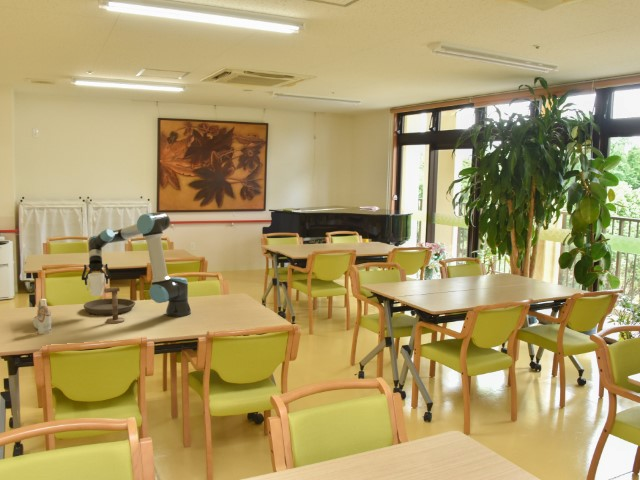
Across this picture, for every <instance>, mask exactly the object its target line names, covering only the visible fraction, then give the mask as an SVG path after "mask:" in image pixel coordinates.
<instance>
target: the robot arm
mask: <svg viewBox="0 0 640 480" xmlns="http://www.w3.org/2000/svg"><path fill="white" fill-rule="evenodd" d="M170 225H171V218H170V217H169V215H168V214H167V213H165V212H161V211H159V212H158V211H157V212H147V213H143V214H141V215H140V216H139V217H138V218H137V221H136V224H133V225H129V226H126V227H123V228H120V229H115V230H112V229H110V228H106V229H103V230H102V231H101V232H100V233H99V234H98V235H93V236H90V237H89V239H88V261H89V262H88V264H87V265H86V264H84V265H83V271H82V274H81V281H84V285H85V286H86V290H87V291H89V279H88V274H91V273H95V272H98V273H104V289H107V285H108V283H109V280H111V279H112V278H111V277H112V276H111V272H110V270H109V267H108V265H109V264H107V263H106V264H104V263H103V253H102V249H103V248H104V247H105V246H106V245H107V244H113V243H117V242H125V241H127V240H129V239H132V238H136V237H138V236H142V237H143V238H144V239H145V240H146V245H147V251H148V257H149V260H150V261H149V262H150V266H151V267H150V268H151V272H152V277H153V279H152V280H151V286H150V287H149V293H148V294H149V297H150V298H151V300H153V302H155V303H156V304H162V303H166V302H167V303H168V304H167V306H166V310H165V315H166V316H170V317H185V316H188V315H190V314H192V313H191V312H192V311H191V310H192V309H191V307H190V304H189V296H188V295H189V293H188V291H189V290H188V289H189V288H188V287H189V286H188V279H187V278H186V277H180V276H169V274H168V268H167V263H166V257H165V253H164V247H163V241H162V236H163V234H164V232H163V231H166V230H167V229H168V228H169V227H170ZM103 268H104V269H105V271H104V270H103ZM88 269H89V271H88V272H87V270H88ZM105 272H106V273H105Z"/></svg>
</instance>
